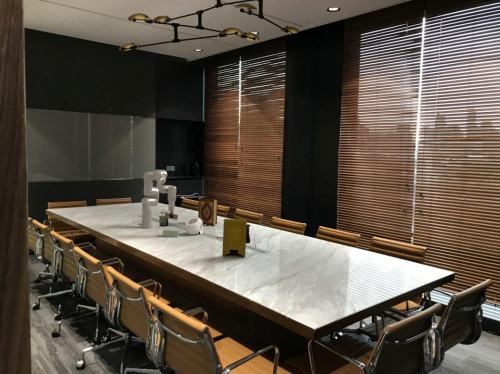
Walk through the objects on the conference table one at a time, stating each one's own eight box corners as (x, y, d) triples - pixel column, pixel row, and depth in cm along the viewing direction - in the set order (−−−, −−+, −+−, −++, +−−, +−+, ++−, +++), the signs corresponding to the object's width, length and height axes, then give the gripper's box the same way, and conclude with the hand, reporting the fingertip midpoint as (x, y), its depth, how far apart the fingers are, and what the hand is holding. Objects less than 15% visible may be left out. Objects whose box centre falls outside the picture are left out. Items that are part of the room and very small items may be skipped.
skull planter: (209, 231, 389) (203, 215, 381) (196, 243, 376) (190, 227, 368) (199, 229, 398) (193, 214, 389) (186, 240, 384) (180, 225, 376)
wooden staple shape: (164, 218, 363) (164, 213, 363) (164, 217, 368) (165, 212, 368) (176, 220, 364) (177, 215, 364) (177, 219, 369) (178, 214, 369)
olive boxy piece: (254, 253, 316) (256, 217, 314) (255, 258, 302) (257, 220, 300) (216, 252, 315) (217, 215, 313) (215, 256, 301) (216, 218, 299)
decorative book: (196, 223, 440) (197, 197, 438) (200, 223, 447) (201, 197, 445) (213, 226, 430) (214, 199, 427) (216, 225, 437) (218, 199, 434)
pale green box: (162, 236, 364) (162, 229, 363) (164, 234, 374) (164, 227, 373) (177, 237, 365) (177, 229, 364) (178, 235, 375) (179, 227, 374)
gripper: (168, 198, 374) (168, 217, 375) (166, 199, 358) (166, 219, 360) (176, 198, 375) (176, 217, 376) (174, 200, 359) (174, 219, 360)
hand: (171, 218), depth 368 cm, fingers closed on wooden staple shape
